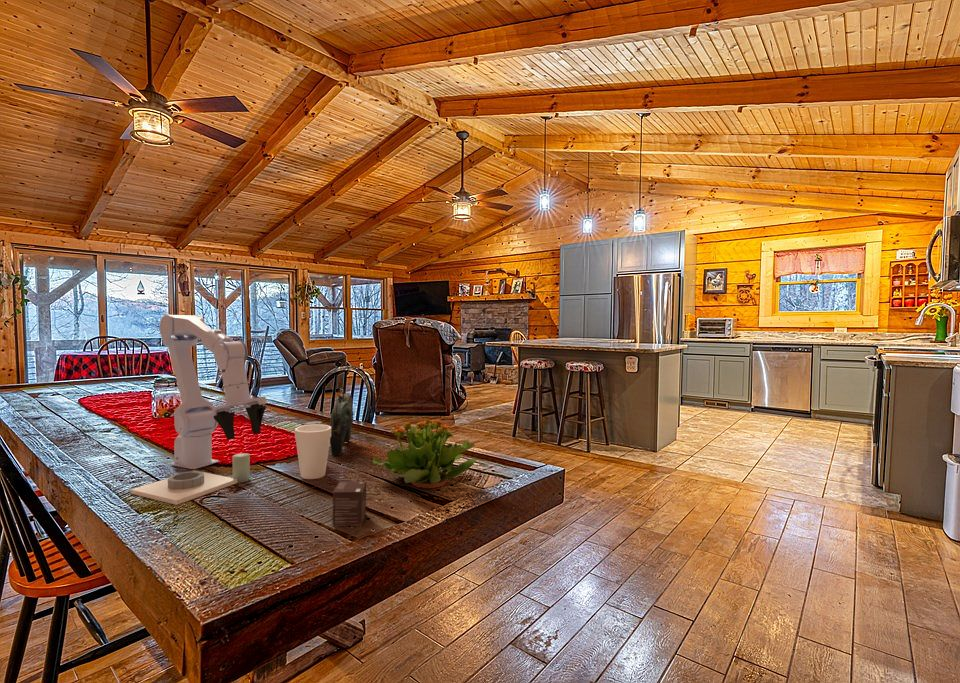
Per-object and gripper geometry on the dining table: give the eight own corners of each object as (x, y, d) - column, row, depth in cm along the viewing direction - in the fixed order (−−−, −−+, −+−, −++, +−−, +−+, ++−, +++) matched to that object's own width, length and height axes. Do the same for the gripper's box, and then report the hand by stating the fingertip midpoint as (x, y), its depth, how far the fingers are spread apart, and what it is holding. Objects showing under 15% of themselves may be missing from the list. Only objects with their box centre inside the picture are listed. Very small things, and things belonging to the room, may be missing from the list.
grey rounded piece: (229, 481, 121) (229, 456, 121) (242, 476, 125) (242, 452, 124) (240, 483, 119) (240, 458, 119) (253, 478, 123) (253, 454, 123)
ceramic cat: (337, 440, 165) (338, 384, 164) (356, 439, 165) (357, 384, 164) (325, 456, 145) (326, 392, 144) (346, 456, 146) (347, 392, 145)
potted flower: (440, 463, 140) (441, 405, 140) (496, 483, 124) (498, 418, 123) (367, 481, 123) (367, 416, 122) (421, 508, 106) (423, 432, 105)
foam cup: (288, 474, 127) (288, 427, 126) (320, 467, 133) (320, 422, 133) (305, 483, 120) (305, 434, 120) (337, 475, 127) (337, 428, 126)
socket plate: (131, 493, 111) (130, 481, 111) (194, 473, 126) (194, 463, 126) (176, 504, 105) (176, 491, 105) (237, 482, 120) (237, 471, 120)
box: (338, 514, 102) (338, 481, 102) (366, 514, 102) (366, 481, 102) (332, 526, 96) (332, 491, 96) (361, 526, 96) (362, 491, 96)
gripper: (200, 391, 120) (208, 444, 119) (250, 380, 118) (259, 433, 117) (219, 390, 127) (227, 439, 126) (267, 380, 125) (275, 429, 124)
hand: (243, 436), depth 122 cm, fingers open, 7 cm apart
